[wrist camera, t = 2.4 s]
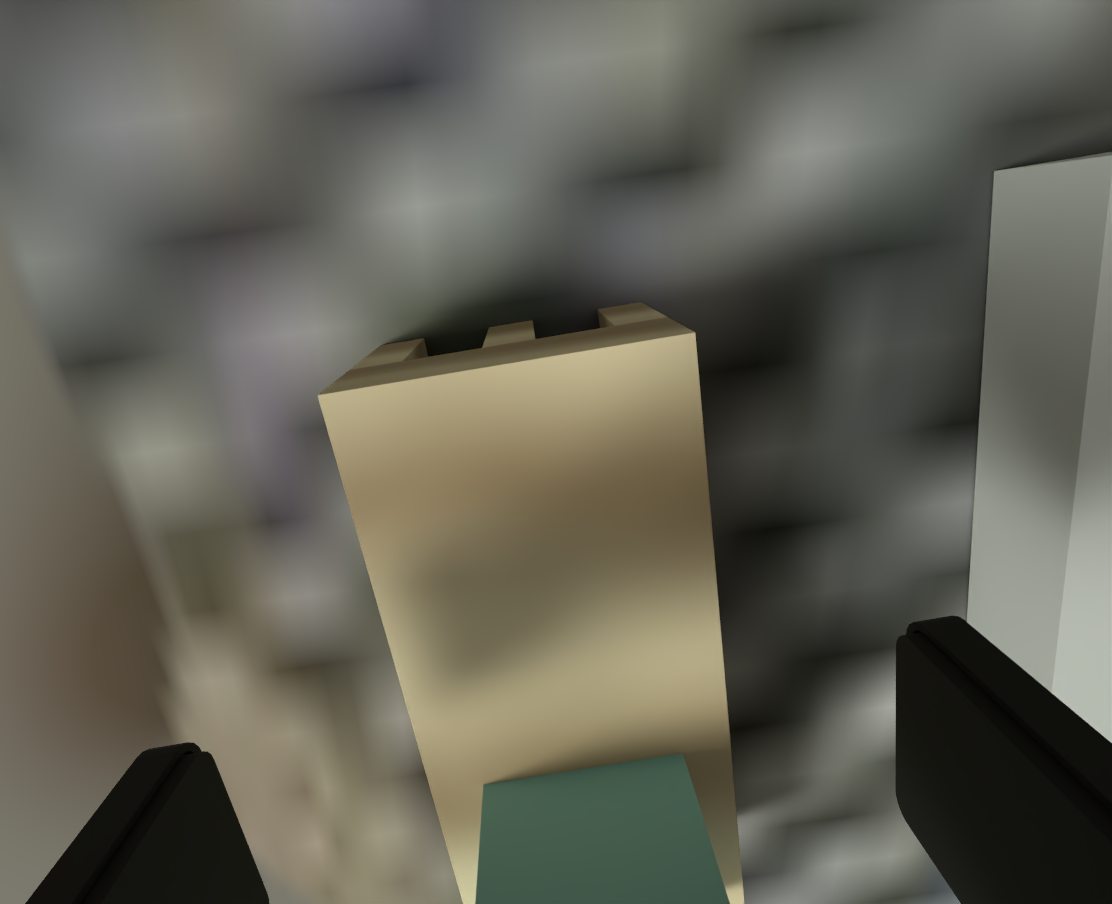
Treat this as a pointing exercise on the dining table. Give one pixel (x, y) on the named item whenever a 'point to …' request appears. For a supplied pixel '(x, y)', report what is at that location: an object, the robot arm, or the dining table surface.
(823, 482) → the dining table surface
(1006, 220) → the dock
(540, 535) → the tan long block
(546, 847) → the teal cube
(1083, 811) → the robot arm
